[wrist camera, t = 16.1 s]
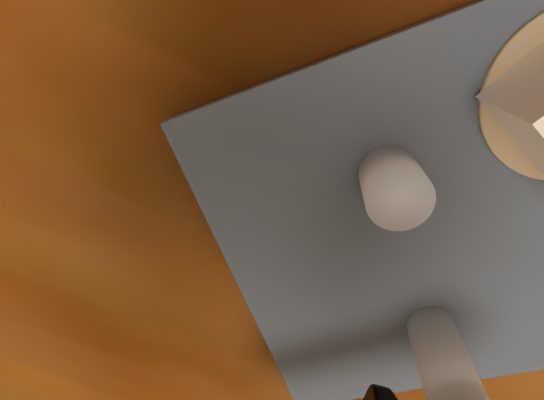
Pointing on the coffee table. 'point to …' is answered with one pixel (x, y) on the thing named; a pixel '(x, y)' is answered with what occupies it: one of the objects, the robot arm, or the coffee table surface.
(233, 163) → the board
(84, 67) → the coffee table surface
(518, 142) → the beige cube
